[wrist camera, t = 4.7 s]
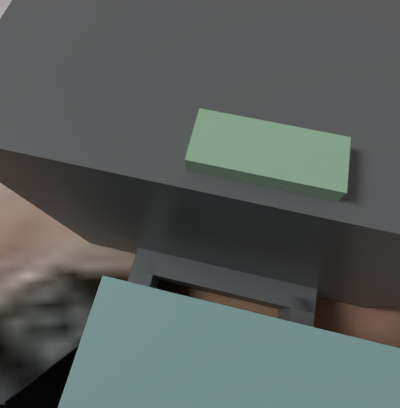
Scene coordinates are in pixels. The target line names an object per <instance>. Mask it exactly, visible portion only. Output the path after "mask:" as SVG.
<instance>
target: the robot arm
mask: <svg viewBox="0 0 400 408" xmlns="http://www.w3.org/2000/svg"><path fill="white" fill-rule="evenodd" d="M78 347H79V346H77V347H76V348H75V349H73V350H72V351H71V352H69V353H68V354H67V355H65V356H64V357H63V358H61V359H60V360H59V361H57V362H56V363H55V364H54V365H52V366H51V367H50V368H48V369H47V370H46V371H44V372H43V373H42V374H40V375H39V376H38V377H36V378H35V379H34V380H32V381H31V382H30V383H29V384H27V385H26V386H25V387H23V388H22V389H21V390H19V391H18V392H17V393H15V394H14V395H13V396H11V397H10V398H9V399H7V400H6V401H5V402H4V405H3V404H1V405H0V408H58V405H59V402H60V399H61V396H62V394H63V391H64V388H65V385H66V382H67V379H68V376H69V373H70V370H71V367H72V364H73V361H74V358H75V355H76V352H77V350H78Z"/></svg>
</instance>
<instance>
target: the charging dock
mask: <svg viewBox="0 0 400 408" xmlns="http://www.w3.org/2000/svg"><path fill="white" fill-rule="evenodd" d="M0 183H2V184H3V185H5V186H6V187H8V188H9V189H11V190H12V191H14V192H15V193H17V194H18V195H20V196H21V197H23V198H24V199H26V200H27V201H29V202H30V203H32V204H33V205H35V206H36V207H38V208H39V209H41V210H42V211H44V212H45V213H46V214H48V215H49V216H51V217H52V218H54V219H55V220H57V221H58V222H60V223H61V224H63V225H64V226H66V227H67V228H69V229H70V230H72V231H73V232H75V233H76V234H78V235H79V236H81V237H82V238H84V239H85V240H87V241H88V242H90V243H93V244H97V245H101V246H106V247H110V248H114V249H118V250H122V251H127V252H131V253H135V254H136V255H135V258H134V262H133V265H132V268H131V271H130V275H129V278H128V281H127V282H131V283H135V284H139V285H143V286H147V287H152V288H156V289H157V286H158V282H159V280H161V281H165V282H169V283H173V284H177V285H182V286H186V287H190V288H194V289H198V290H202V291H206V292H211V293H215V294H219V295H223V296H227V297H231V298H235V299H240V300H244V301H248V302H252V303H256V304H260V305H264V306H268V307H273V308H277V309H279V315H278V319H282V320H286V321H290V322H295V323H299V324H303V325H307V326H311V327H314V317H315V306H316V296H317V297H322V298H326V299H330V300H334V301H339V302H343V303H347V304H351V305H356V306H360V307H364V308H368V307H385V306H400V0H12V1H11V3H10V5H9V6H8V8H7V9H6V11H5V12H4V14H3V15H2V17H1V19H0Z"/></svg>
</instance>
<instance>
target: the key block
mask: <svg viewBox="0 0 400 408" xmlns="http://www.w3.org/2000/svg"><path fill="white" fill-rule="evenodd" d="M58 408H400V348H397V347H393V346H389V345H384V344H380V343H376V342H372V341H368V340H364V339H360V338H356V337H352V336H348V335H344V334H340V333H335V332H331V331H327V330H323V329H319V328H315V327H311V326H307V325H303V324H299V323H295V322H290V321H286V320H282V319H278V318H274V317H270V316H266V315H262V314H258V313H254V312H250V311H246V310H241V309H237V308H233V307H229V306H225V305H221V304H217V303H213V302H209V301H205V300H201V299H197V298H192V297H188V296H184V295H180V294H176V293H172V292H168V291H164V290H160V289H156V288H152V287H147V286H143V285H139V284H135V283H131V282H127V281H123V280H119V279H115V278H111V277H107V276H102V279H101V282H100V285H99V288H98V291H97V294H96V297H95V300H94V303H93V306H92V308H91V311H90V314H89V317H88V320H87V323H86V326H85V329H84V332H83V335H82V338H81V341H80V344H79V347H78V350H77V352H76V355H75V358H74V361H73V364H72V367H71V370H70V373H69V376H68V379H67V382H66V385H65V388H64V391H63V394H62V396H61V399H60V402H59V405H58Z"/></svg>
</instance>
